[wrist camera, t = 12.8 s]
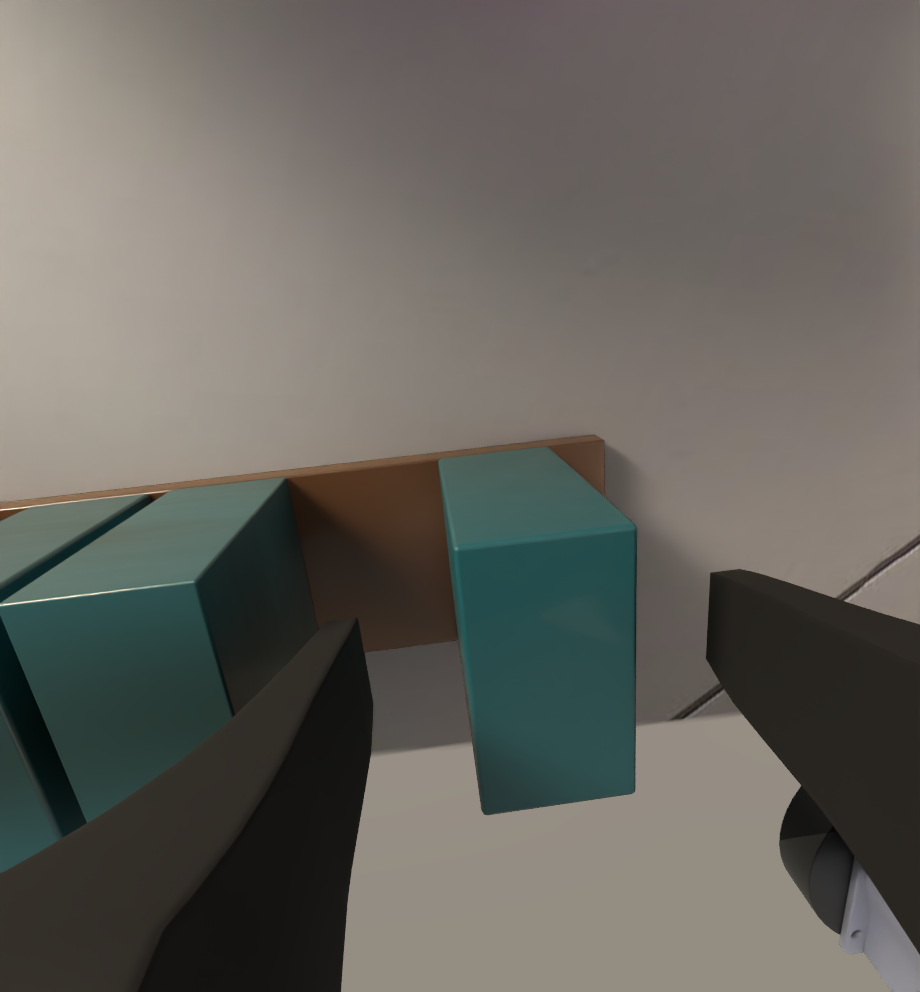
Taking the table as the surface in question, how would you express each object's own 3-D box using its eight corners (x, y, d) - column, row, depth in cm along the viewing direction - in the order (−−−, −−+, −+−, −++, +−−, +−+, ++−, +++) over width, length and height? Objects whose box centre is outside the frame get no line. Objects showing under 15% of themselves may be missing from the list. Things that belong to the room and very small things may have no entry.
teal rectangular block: (549, 445, 14) (639, 524, 8) (557, 627, 16) (637, 795, 10) (437, 458, 14) (452, 547, 8) (458, 640, 16) (482, 818, 10)
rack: (598, 608, 17) (714, 784, 10) (28, 682, 16) (-238, 925, 9) (595, 433, 15) (733, 514, 8) (-45, 507, 14) (-432, 657, 8)
